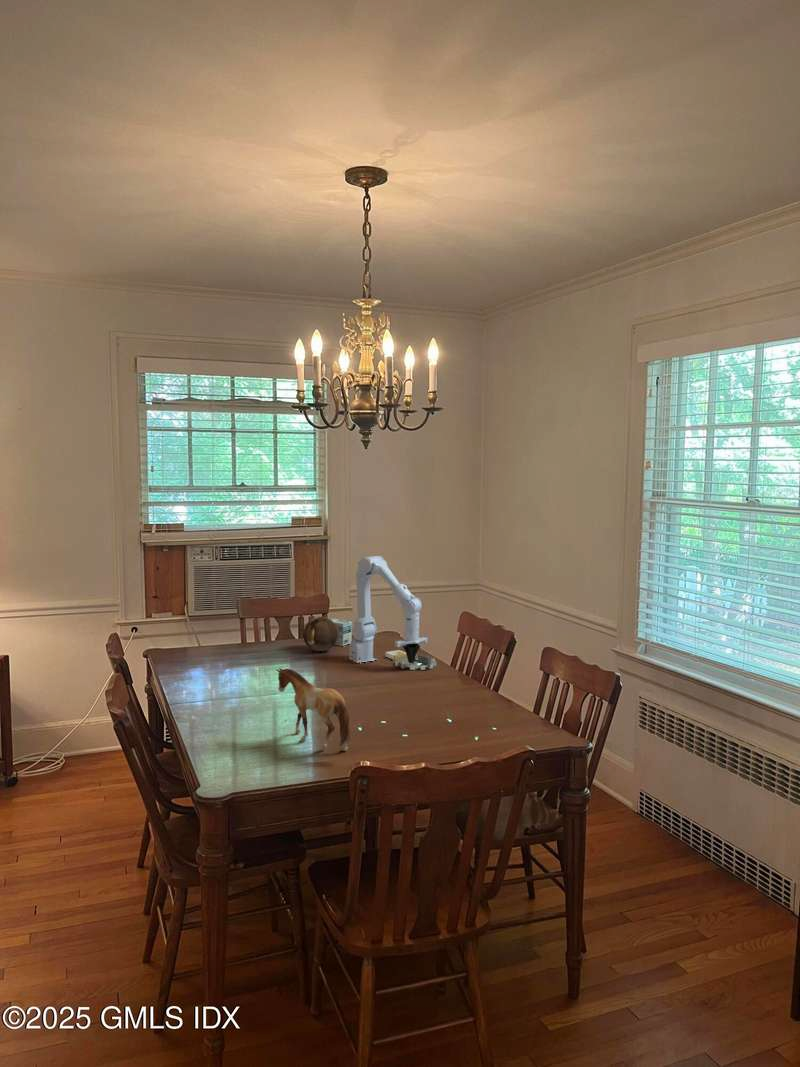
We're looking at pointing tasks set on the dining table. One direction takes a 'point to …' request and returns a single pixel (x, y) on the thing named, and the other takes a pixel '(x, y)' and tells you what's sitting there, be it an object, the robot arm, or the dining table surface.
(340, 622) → the light bulb box
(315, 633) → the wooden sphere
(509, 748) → the dining table surface
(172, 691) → the dining table surface
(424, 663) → the sprocket
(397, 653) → the square open frame
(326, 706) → the horse figurine
